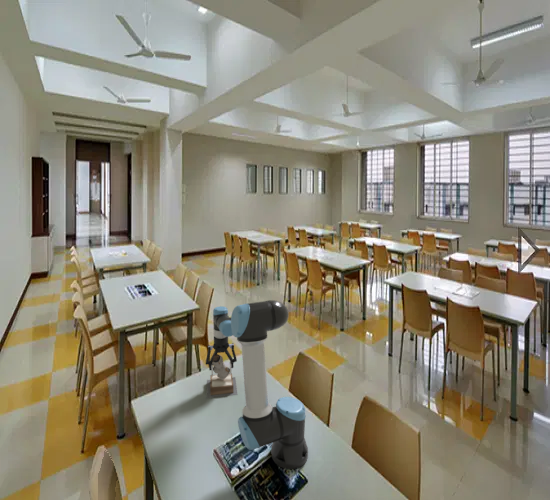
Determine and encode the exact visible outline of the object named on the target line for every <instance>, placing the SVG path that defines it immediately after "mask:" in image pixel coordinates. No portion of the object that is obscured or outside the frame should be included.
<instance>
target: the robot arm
mask: <svg viewBox="0 0 550 500" xmlns="http://www.w3.org/2000/svg"><path fill="white" fill-rule="evenodd" d="M289 314H290V313H289V310H288V308H287V306H286V305H285V304H284V303H282V302H281V301H278V300H273V299H272V300H264V301H255V302H249V303H243V304H239V305H236V306H235V307H234V308H233V309H232V312H231V316H229V310H228V308H227V307H226V306H221V305H220V306H216V307H214V308H213V313H212V317H213V320H212V321H213V345H210V344H208V345H207V350H208V351H207V354H206V358H205V365H206V366H207V365H208V367H209V368H208V369H209V371H211V375H212V377H213V375H214V371H213V367H214V366H213V361H212V357H213V356H215V355H217V354H219V353H220V354H221V353H224V354H225V355H226V356H227V358H228V360H229V369H230V375H231V373H232V369H234V363H236V362H237V355H236V352H235V344H234V342H232V343H229V338H230V337H232V336H233V337H234V338H236V341H237V343H239V344H241V355H242V367H243V368H242V371H243V381H244V382H243V383H244V397H245V406H244V407H243V408H242V412H241V413H242V416H240V417H238V419H237V425H238V430H239V434H240V437H241V440H242V442H243V444H244V446H245V447H246V448H247V450H249V451H253V450H257V449H260V448H262V447H265V446H267V445H270V444H271V447H270V450H271V453H270V455H271V454H272V456H271V458H272V460H273V462H274V464H276V465H277V466H278V467H280V468H283V469H285V470H297V469H299V468H301V467H302V466H304V465H305V464H306V463H307V460H308V458H309V457H308V456H309V447H308V444H307V441H306V438H305V429H306V427H305V425H306V416H307V415H306V408H305V405H304V403H303V402H302V401H301V400H299V399H298V398H295V397H292V396H283V397H280V398H278V400H277V401H276V403H275V406H272V404H271V403H270V402H269V396H268V395H269V394H268V382H267V369H266V356H265V355H266V354H265V341H266V340H267V339H268V332H269V331H275V330H278V329H280V328H282V327H284V325H286V323H287V322H288V320H289V316H290V315H289ZM228 348H230V350H231V352H232V355H231V353H230V352H229V350H228ZM213 349H214V351H213V353H212V356H211V351H212V350H213ZM210 356H211V357H210ZM232 356H233V357H232Z"/></svg>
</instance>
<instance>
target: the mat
mask: <svg viewBox="0 0 550 500" xmlns="http://www.w3.org/2000/svg"><path fill="white" fill-rule="evenodd" d="M232 378H233V392H234V393H227V394H218V395H211V394H210V379H207V380H206V399H212V398H221V397H230V396H238V387H237V379H236V377H234V376H232Z"/></svg>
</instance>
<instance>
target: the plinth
mask: <svg viewBox="0 0 550 500" xmlns="http://www.w3.org/2000/svg"><path fill="white" fill-rule="evenodd" d="M217 375H218V374H213V377H212V374H211V375H209V376H210V379H209V380H210V394H211V395H218V394H227V393H234V392H233V378H232V377H233V373H232V372H231V375H230V373H229V375H228V376H227V377H226V378H225V379H223V380H220V378H219V377H217Z"/></svg>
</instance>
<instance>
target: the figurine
mask: <svg viewBox="0 0 550 500" xmlns="http://www.w3.org/2000/svg"><path fill="white" fill-rule="evenodd" d="M211 357H212V356H211ZM212 361H213V373H214V374H216V375H217V377H219V378H220V380H223V379H225V378H226V377H227V376H228V375H229V373H230V367H228V366H227V365H226V364H225V363H224V358H223V356H222V355H221V354H219V353H217V355H215V356H213V357H212Z"/></svg>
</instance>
